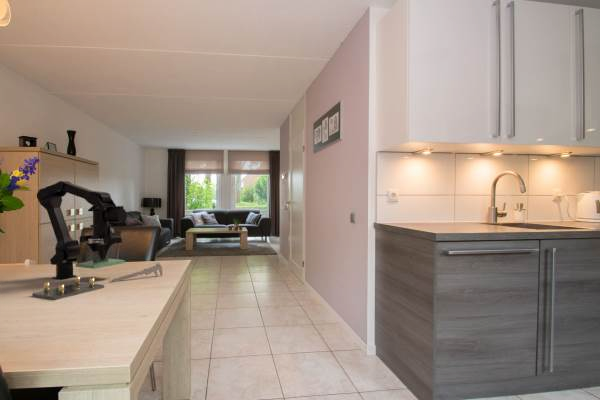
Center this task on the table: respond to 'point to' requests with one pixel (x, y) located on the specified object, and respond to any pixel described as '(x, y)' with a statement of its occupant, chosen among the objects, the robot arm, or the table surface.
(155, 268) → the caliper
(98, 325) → the table surface
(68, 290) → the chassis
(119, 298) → the table surface
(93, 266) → the board
